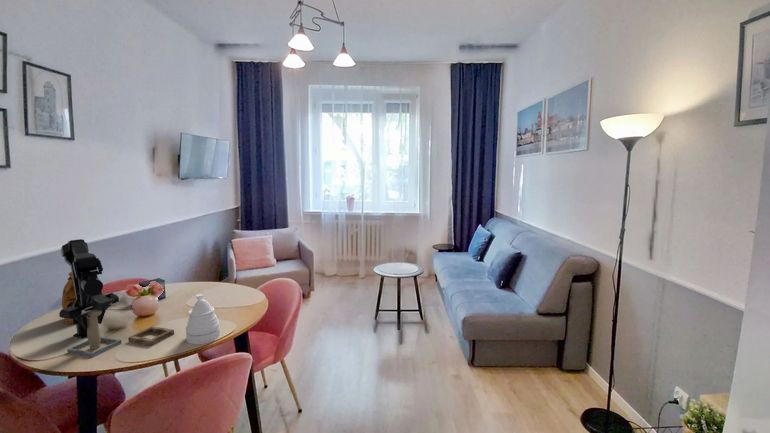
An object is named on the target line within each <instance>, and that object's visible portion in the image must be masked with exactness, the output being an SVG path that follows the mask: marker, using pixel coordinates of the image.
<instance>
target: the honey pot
mask: <svg viewBox="0 0 770 433" xmlns="http://www.w3.org/2000/svg"><path fill="white" fill-rule="evenodd" d="M203 296H204V294H202V293H200V294H199V293H198V294H196V295H195V297H196V299H197V301H196V302H195V304H194V306H193V307H192V308H191V309H190V310H188V312H187V315H188V316H189V318H188V320H187V325H186V327H185V334H186V335H185V336H186V339H185V340H186V342H187V343H189V344H191V345H203V344H207V343H211V342H213V341H215V340H218V338H219V337H220V336H221V326H220V321H219V319H218V317H217V314H216V313H215V307H214V306H211V304H210V302H208V301H207V300H206V299H204V298H203Z"/></svg>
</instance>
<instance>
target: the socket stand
mask: <svg viewBox="0 0 770 433" xmlns="http://www.w3.org/2000/svg"><path fill="white" fill-rule="evenodd" d="M153 333H154V334H159V335H157V336H155V337H153V338H146V336H147V335H150V334H153ZM173 335H175V329H172V328H164V327H159V326H153V325H152V326H150V327H147V328H144V329H143V330H141V331H139V332H136V333H135V334H133V335H130V336H128V343H133V344H138V345H145V346H150V347H154V346H155V345H156V344H158V343H161V341H165V340H166V339H168V338H169V337H171V336H173Z"/></svg>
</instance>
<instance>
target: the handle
mask: <svg viewBox="0 0 770 433" xmlns="http://www.w3.org/2000/svg"><path fill="white" fill-rule="evenodd" d="M85 313H87V314H88V315H87V326H88V327H87V337H86V338H87V340H88V342H89V349H90V350H92V351H93V350H98V349H100V347H101V341H100V340H101V338H100V337H102V336H101V330H100V324H98V316H99V315H100V314H101V313H102V310H97V309H96V310H89V311H85Z"/></svg>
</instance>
